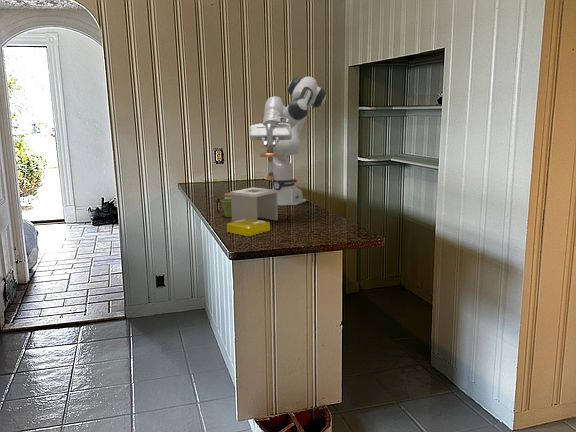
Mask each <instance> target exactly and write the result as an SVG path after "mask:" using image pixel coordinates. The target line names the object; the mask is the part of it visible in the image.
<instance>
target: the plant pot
mask: <svg viewBox="0 0 576 432" xmlns="http://www.w3.org/2000/svg"><path fill="white" fill-rule="evenodd" d="M220 202H221V204H222V208H223V214H224V217H225V218H232V211H231V198H229V199H225V198H224V199H220Z"/></svg>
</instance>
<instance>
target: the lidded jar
mask: <svg viewBox="0 0 576 432" xmlns="http://www.w3.org/2000/svg"><path fill="white" fill-rule="evenodd" d="M231 192H232V191H230V192H227V193H224V194H223V196H224V199H229V198H231Z"/></svg>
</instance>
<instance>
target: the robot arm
mask: <svg viewBox="0 0 576 432" xmlns="http://www.w3.org/2000/svg"><path fill="white" fill-rule="evenodd" d="M287 87H288V88H287V92H288V94H289V95H290V96H291V97H292V101H290V102H289V104H288V105H287V106H285V105H284V103H283V100H282V98H281V97H279V96H276V95H275V96H271V97H269V98H267V100H266V101H265V105H264V109H263V112H264V114H263V120H262V123H253V124H252V125H250V127H249V130H250V131H249V140H251V141H253V142H254V141H255V142H256V141H257V142H259V141H261V142H262V144H263V147H264V149H265V151H266V152H267V135H266V124H273V152H280V153H281V156H280V157H273V175H275V179H274V180H272V190H277V205H278V206H297V205H300V204H303V203H305V202H307V200H308V199H306V198H305V197H304V198H303V191H302V190H301V189H300V188H298V187H297V186H296V183H297V182H298V178H293V165H292V163H291V162H290V160H289V158H288V157H289V156H295V155H297V154H299V152H300V151H301V148H302V144H301V140H300V136H301V135H300V134H301V131H302V129H303V127H304V124H305V122H306V120H307V118H308V115H309V112H310V109H311V108H312V110H313V109H315V108H319V107H321V106H322V105H323V104H324V103H325V102H326V99H327V92H326V90H325V89H324V88H322V87H320V86H318V82H317V80H316V79H315V78H314V77H312V76H304V77H303V78H300V77H293V78H292V80H290V81H289V82H288V86H287Z"/></svg>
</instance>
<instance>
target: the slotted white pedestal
mask: <svg viewBox="0 0 576 432" xmlns="http://www.w3.org/2000/svg"><path fill="white" fill-rule="evenodd" d="M272 189H273V188H272ZM272 189H270V188H262V187H247V188H243V189H242V188H241V189H237V190H232V191H230V192H231V211H232V217H231V222H235V221H239V220H243V219H248V218H250V219H256V220H259V219H264V218H265V219H264V220H272V221H278V220H279V218H278V217H279V214H278V211H279V209H278V206H279V205H277V190H272ZM258 218H259V219H258Z"/></svg>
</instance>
